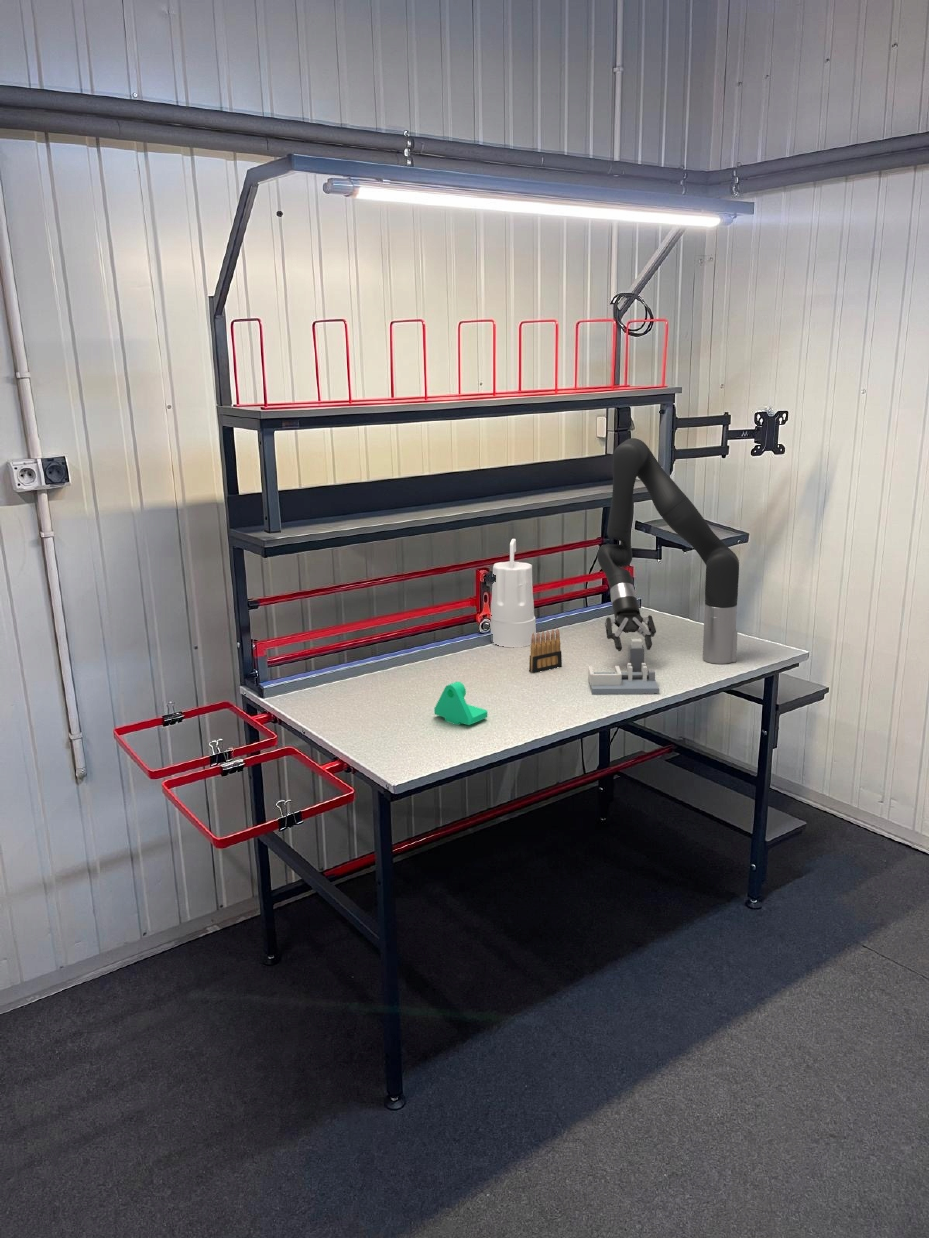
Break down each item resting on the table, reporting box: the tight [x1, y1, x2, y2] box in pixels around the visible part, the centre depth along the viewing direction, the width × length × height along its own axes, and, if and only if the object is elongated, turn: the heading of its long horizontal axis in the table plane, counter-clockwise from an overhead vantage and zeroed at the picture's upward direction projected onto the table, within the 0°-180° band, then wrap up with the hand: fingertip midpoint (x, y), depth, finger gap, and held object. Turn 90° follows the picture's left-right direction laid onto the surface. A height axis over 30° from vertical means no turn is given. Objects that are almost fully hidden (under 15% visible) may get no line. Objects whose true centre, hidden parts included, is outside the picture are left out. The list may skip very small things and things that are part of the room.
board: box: [587, 662, 660, 695], centre depth 251 cm, size 18×14×6 cm
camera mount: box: [434, 681, 488, 726], centre depth 229 cm, size 12×8×10 cm, turn 47°
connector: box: [627, 638, 645, 672], centre depth 260 cm, size 4×4×10 cm
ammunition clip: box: [528, 627, 563, 674], centre depth 266 cm, size 11×2×12 cm, turn 121°
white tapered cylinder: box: [490, 538, 537, 648], centre depth 293 cm, size 15×15×33 cm
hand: (634, 649), depth 261 cm, fingers open, 8 cm apart
